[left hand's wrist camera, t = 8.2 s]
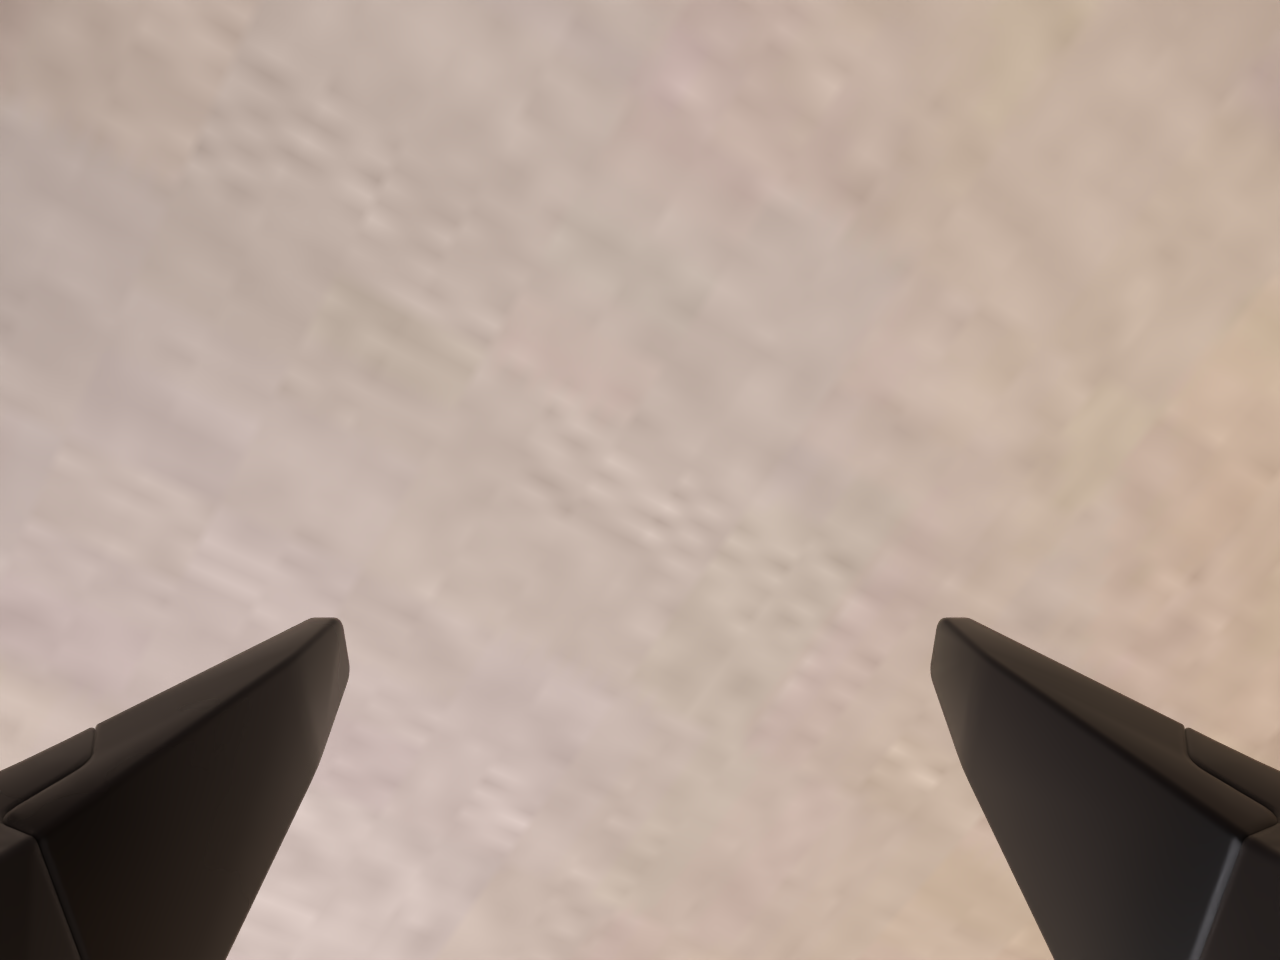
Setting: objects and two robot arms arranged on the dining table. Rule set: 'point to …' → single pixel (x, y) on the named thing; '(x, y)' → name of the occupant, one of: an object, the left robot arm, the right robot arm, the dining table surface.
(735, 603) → the dining table surface
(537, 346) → the dining table surface
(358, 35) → the dining table surface
